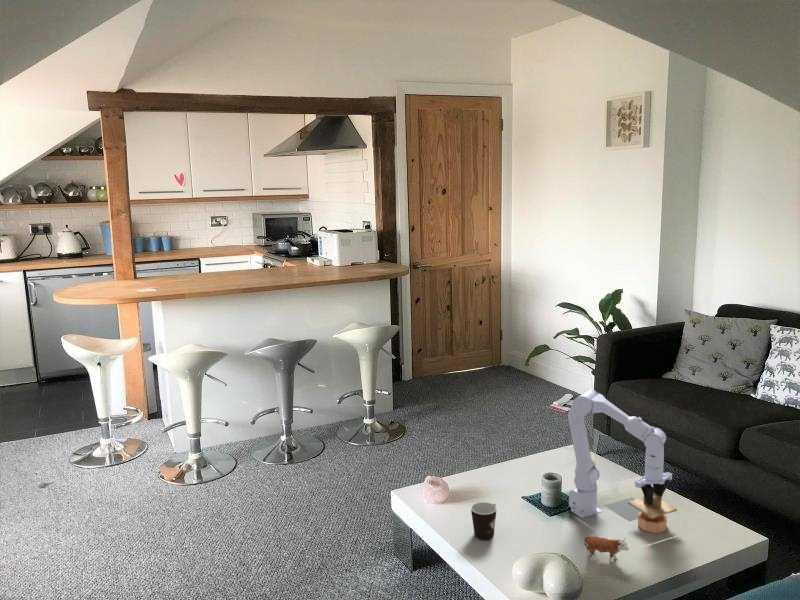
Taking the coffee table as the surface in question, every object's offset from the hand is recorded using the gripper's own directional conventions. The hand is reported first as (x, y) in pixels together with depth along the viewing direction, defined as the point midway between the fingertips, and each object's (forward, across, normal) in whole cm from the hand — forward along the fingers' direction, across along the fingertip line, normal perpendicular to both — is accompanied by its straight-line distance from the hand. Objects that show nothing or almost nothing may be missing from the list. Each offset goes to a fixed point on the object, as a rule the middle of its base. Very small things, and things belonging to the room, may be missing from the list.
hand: (652, 502), depth 228 cm
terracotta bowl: (+9, 0, 0) cm, 9 cm away
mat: (+9, +2, +12) cm, 15 cm away
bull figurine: (+9, -27, -8) cm, 30 cm away
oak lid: (+2, 0, 0) cm, 2 cm away
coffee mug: (+9, -52, +22) cm, 57 cm away
